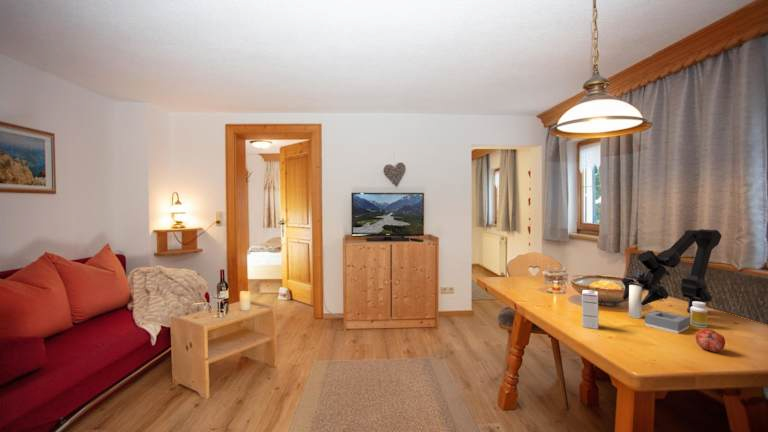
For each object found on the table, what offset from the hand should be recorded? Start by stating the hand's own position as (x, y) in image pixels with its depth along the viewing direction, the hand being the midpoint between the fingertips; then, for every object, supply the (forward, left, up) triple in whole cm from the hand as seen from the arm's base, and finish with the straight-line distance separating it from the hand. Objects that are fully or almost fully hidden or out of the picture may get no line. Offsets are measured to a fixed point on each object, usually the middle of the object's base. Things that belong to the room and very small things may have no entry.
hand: (632, 301), depth 151 cm
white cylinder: (-1, +1, -7) cm, 7 cm away
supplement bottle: (-4, +22, -7) cm, 23 cm away
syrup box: (+25, -12, -7) cm, 29 cm away
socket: (+6, +12, -7) cm, 15 cm away
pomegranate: (+25, +24, -7) cm, 35 cm away
